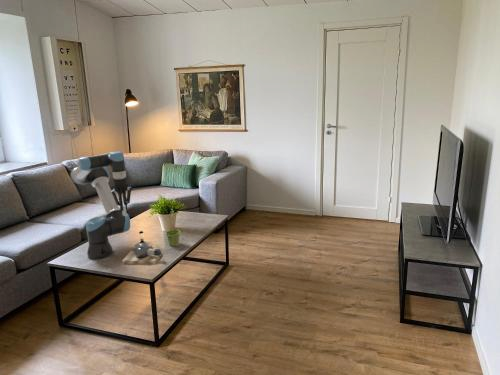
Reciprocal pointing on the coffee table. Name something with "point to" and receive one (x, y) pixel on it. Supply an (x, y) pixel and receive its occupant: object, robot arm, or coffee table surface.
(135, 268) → the coffee table surface
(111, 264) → the coffee table surface
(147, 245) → the grey joystick
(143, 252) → the saucepan with lid
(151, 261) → the wooden cutting board
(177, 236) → the plant pot
